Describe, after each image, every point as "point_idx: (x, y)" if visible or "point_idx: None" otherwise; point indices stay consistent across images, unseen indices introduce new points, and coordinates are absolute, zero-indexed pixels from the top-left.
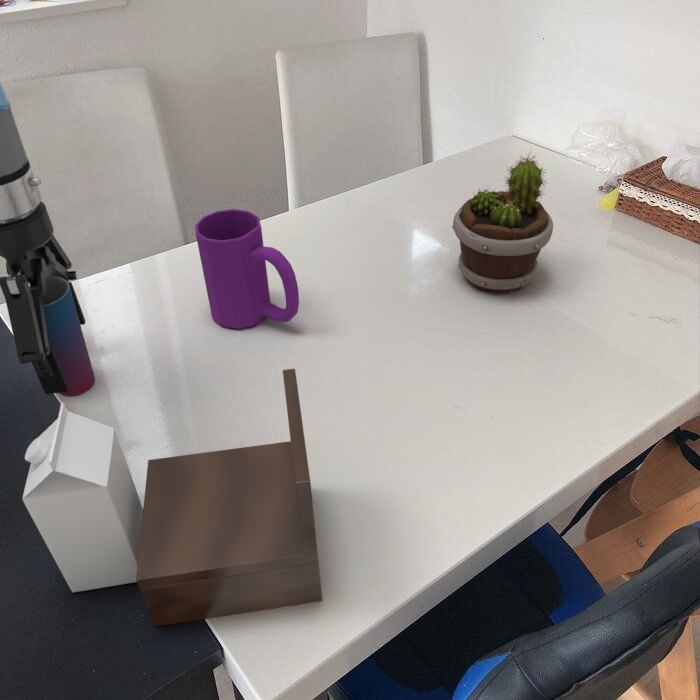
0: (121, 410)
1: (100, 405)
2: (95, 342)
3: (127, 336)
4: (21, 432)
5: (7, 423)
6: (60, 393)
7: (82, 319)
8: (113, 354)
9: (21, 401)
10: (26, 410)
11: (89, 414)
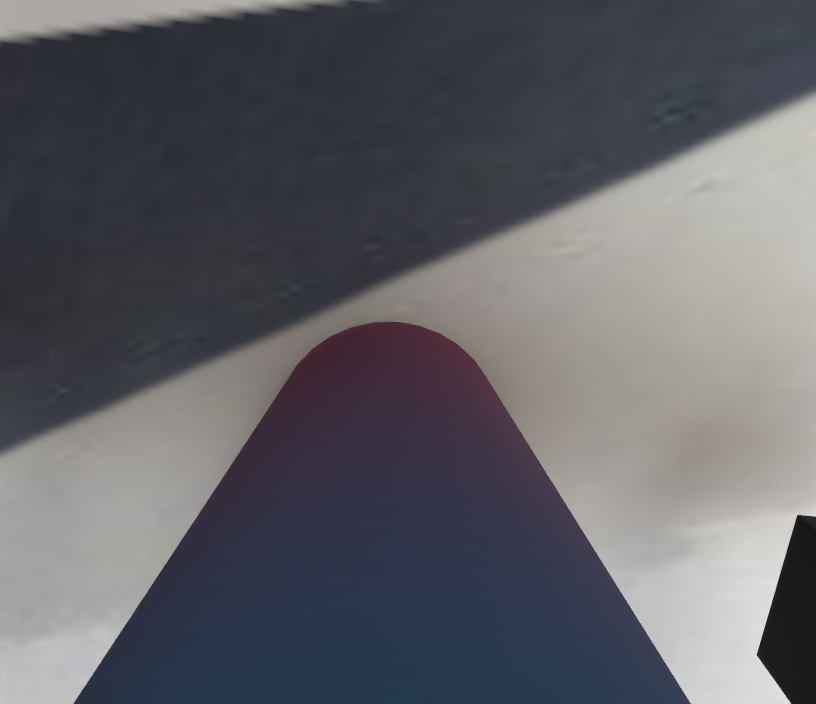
0: (107, 649)
1: (167, 556)
2: (743, 515)
3: (723, 672)
4: (13, 141)
5: (112, 38)
6: (307, 354)
7: (785, 686)
8: None
9: (310, 110)
10: (214, 152)
11: (105, 506)
